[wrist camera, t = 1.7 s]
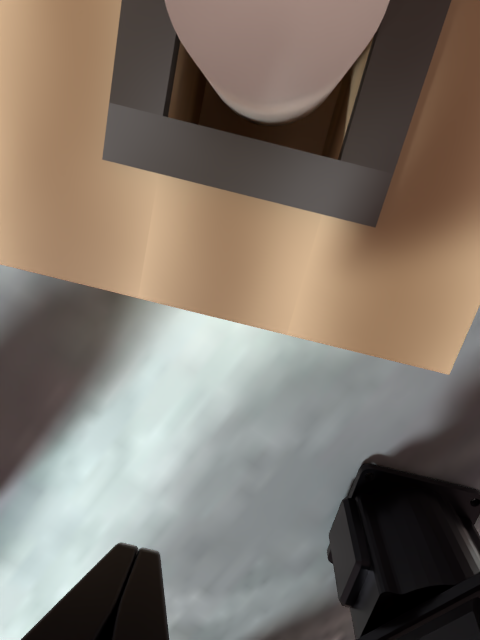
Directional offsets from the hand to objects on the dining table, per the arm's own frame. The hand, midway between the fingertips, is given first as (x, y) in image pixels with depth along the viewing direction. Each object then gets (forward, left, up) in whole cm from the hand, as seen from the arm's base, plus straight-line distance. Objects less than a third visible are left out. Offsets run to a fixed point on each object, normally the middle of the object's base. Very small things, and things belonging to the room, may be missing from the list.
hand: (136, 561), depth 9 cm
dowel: (0, -11, -8) cm, 14 cm away
